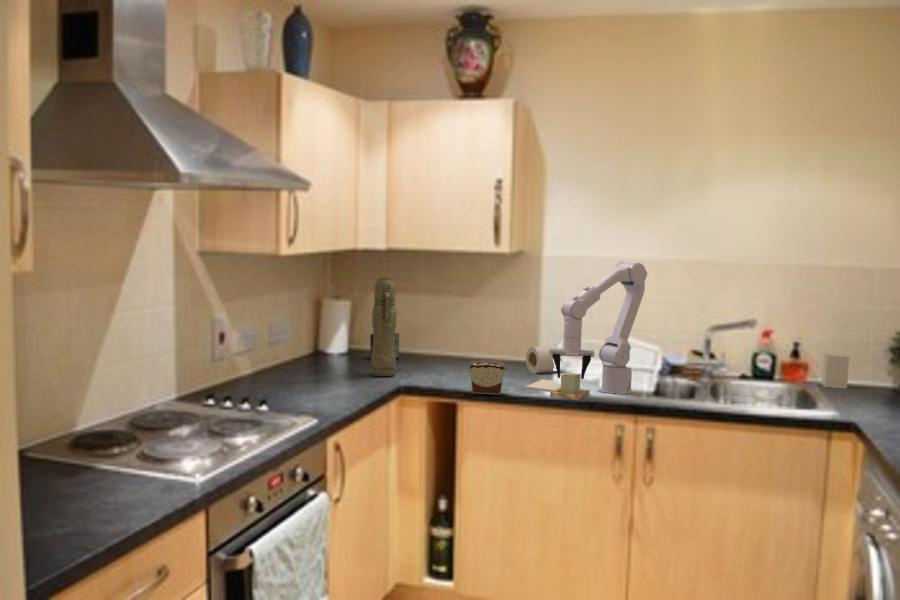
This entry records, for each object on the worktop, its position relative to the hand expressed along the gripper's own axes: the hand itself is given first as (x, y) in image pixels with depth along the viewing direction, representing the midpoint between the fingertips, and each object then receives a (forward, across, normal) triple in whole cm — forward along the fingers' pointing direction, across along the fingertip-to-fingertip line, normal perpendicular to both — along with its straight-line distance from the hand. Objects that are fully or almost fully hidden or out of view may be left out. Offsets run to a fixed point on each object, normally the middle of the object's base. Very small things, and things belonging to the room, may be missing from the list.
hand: (570, 377), depth 257 cm
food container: (+6, +27, 0) cm, 28 cm away
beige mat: (+6, +6, -13) cm, 15 cm away
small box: (+6, +70, -58) cm, 91 cm away
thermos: (+6, +66, -24) cm, 70 cm away
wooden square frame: (+6, 0, 0) cm, 6 cm away
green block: (+6, 0, 0) cm, 6 cm away
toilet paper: (+6, +7, -40) cm, 42 cm away
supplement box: (+6, -96, -30) cm, 101 cm away
